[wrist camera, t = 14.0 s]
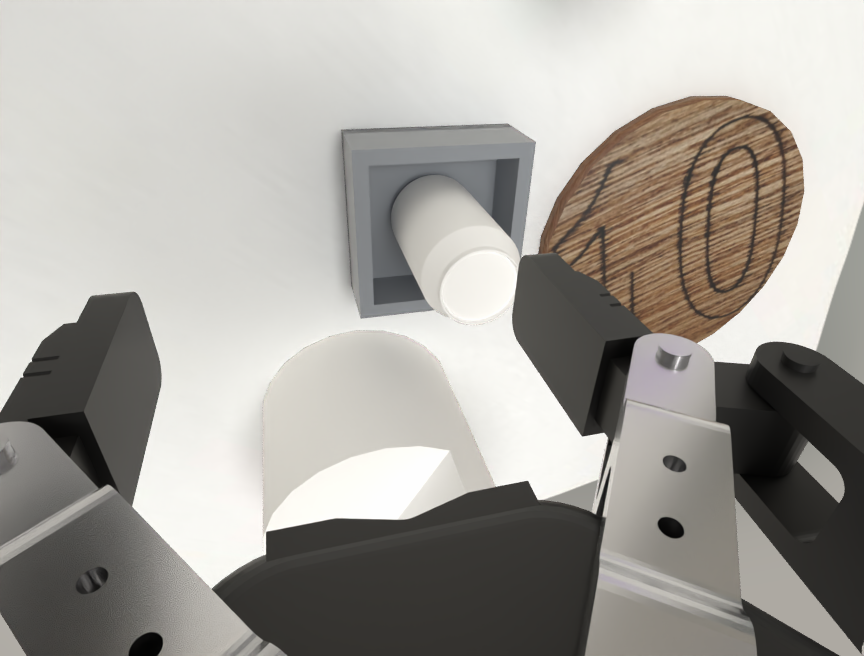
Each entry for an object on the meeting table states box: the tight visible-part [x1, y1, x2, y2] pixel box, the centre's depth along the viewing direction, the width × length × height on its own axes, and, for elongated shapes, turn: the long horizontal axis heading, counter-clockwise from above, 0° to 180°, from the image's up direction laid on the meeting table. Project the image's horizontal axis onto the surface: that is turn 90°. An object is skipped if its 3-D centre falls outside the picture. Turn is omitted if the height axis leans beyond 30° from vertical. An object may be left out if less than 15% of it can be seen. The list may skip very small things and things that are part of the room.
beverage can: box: [391, 175, 520, 325], centre depth 36 cm, size 6×6×12 cm
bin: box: [342, 124, 536, 318], centre depth 39 cm, size 12×12×5 cm
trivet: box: [539, 96, 804, 343], centre depth 49 cm, size 25×25×2 cm
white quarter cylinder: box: [263, 331, 496, 555], centre depth 39 cm, size 17×17×28 cm
